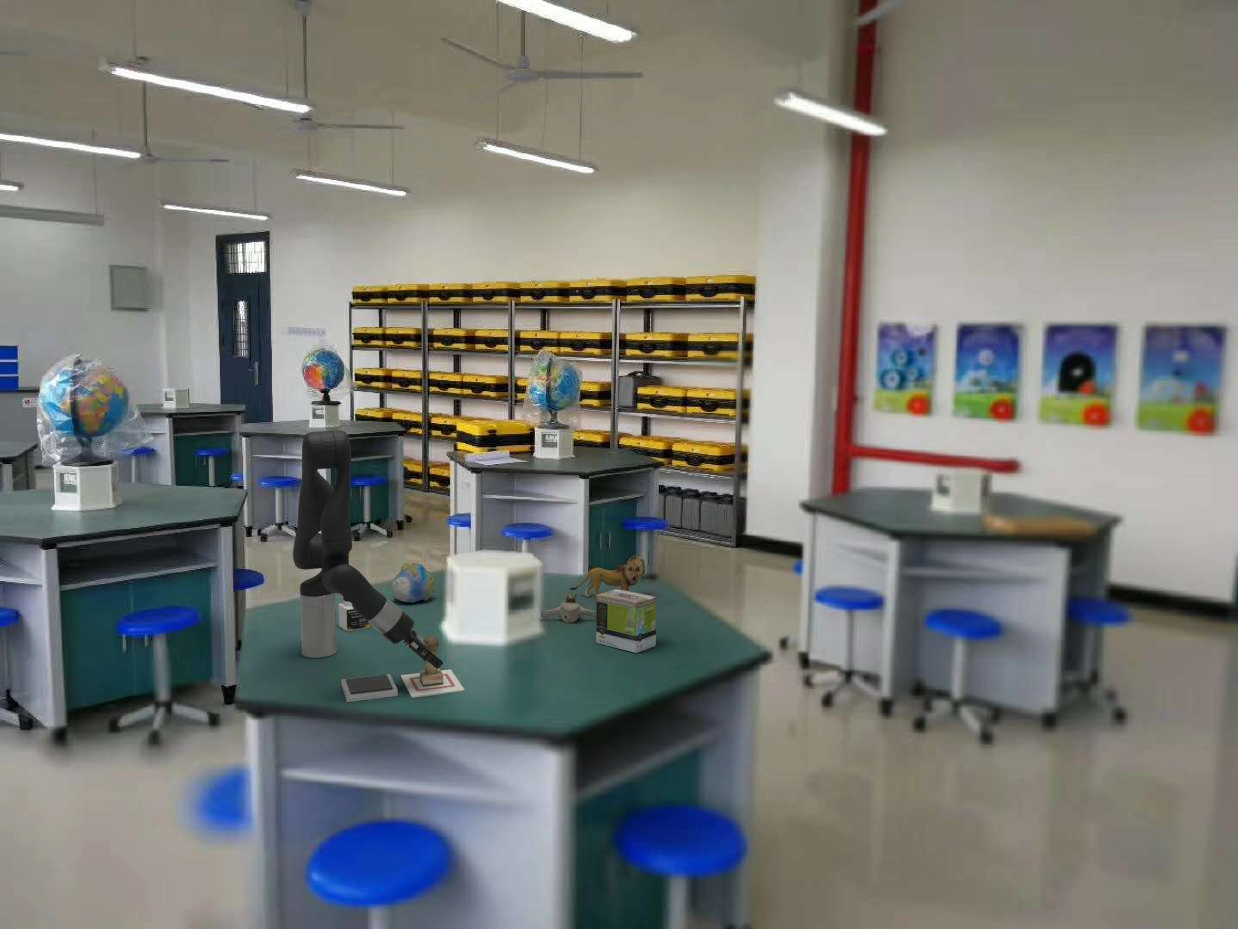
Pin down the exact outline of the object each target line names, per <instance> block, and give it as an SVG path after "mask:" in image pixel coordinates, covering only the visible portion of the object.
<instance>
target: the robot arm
mask: <svg viewBox="0 0 1238 929" xmlns="http://www.w3.org/2000/svg"><path fill="white" fill-rule="evenodd" d="M351 452H352V449H351V440H350V438H349V435H348V433H347V432H346V431H345V430H340V429H339V430H336V429H335V430H322V431H319V430H318V431H317V430H316V431H311V432H307V433H306V434H305V435H304V437H303V439H302V445H301V482H300V490H299V497H298V505H297V506H298V508H297V527H296V532H295V536H294V541H293V546H292V547H293V549H292V560H293V563H294V565H295V567H296V568H297V569H299V570H316V569H321V570H320V572H319V573H317V574H315V575H314V576H312V577H310V578H308V579H306V580H304V581H302V582H301V583H300V585H299V598H300V599H299V604H300V632H301V634H300V635H301V654H302V656H303V657H305V658H309V659H310V658H311V659H319V658H321V659H322V658H327V657H330V656H333V655H335V654H336V653H337V649H338V648H337V617H336V609H337V608H336V594H339V595H341V596H342V597H343V596H344V597H345V598H346V599H347V600H348V601H349V602H350V603H352V607H353V608H354V610H355V611H356V612H357V613H359V614H360V615H361V616H362V617H363V618H365V619H366V620H367V621H368V622H369V623H370V626H371V627H373V628H374V629H375V630H376V632H378V633H380V634H381V635H382V636H383V637H384V638H385V639H386V640H388V641H389V642H390V643H392V644H394V645H395V644H399V643H401V642H402V641H403V643H404V644H405V647H407V648H408V649H409V650H411V651H412V652H413V653H414V654H415V655H416V656H419V658H421V659H422V660H423V661H424V662H425V661H428V662H429V663H431V664H432V665H433V666H434V667H435V668H437V669H438V668H439V669H441V666H442V665H443V664H444V662H443V660H442V659H440V658H439V656H438V657H437V656H436V655H435V654H433V652H432V651H431V650H429V649H428V645H427V644H426V643H425V642H424V640H425V639H424V637H423V636H422V635H421V634H420V633H419V632H417V631H416V630H415V629H413V627H414V625H415V620H414V619H413V618H412V617H410V615H408V614H407V613H406V612H405V611H404V610H402V609H401V608H400V607H399V606H398V605H397V604H395V603H394V602H393V601H391V600H389V599H388V598H386V597H385V595H383V594H382V593H381V592H380V591H379V590H377V589H375V587H373V586H372V585H371V583H370V582H369V581H368V579H367V578H366V577H365V576H364V575H363V574H362V572H360V571H359V570H358V569H357V568H355V567H354V566H352V565H351V564H350V552H351V551H352V550H353V549H352V548H353V536H352V526H351V525H352V524H351V511H350V510H351V489H352V488H351V484H352V483H351V482H352V481H351V480H352V479H351V478H352V475H351V474H352V470H351V469H352V453H351ZM328 469H330V470H331V469H336V470H337V474H336V475H337V478H336V482H335V486H334V487H333V485H332V484H331V483H330V482H329V481H328V480H327V478H324V476H322V474H320V472H319V470H328ZM318 533H320V534H318ZM425 650H426V651H427V652H428V653H427V654H426V655H425Z"/></svg>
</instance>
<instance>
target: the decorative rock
mask: <svg viewBox="0 0 1238 929" xmlns="http://www.w3.org/2000/svg"><path fill="white" fill-rule="evenodd" d="M393 579H394V581H393V582H392V586H391V587H392V593H393V595H394V598H395V599H396V600H398V601H400V602H403V603H408V604H414V602H415V603H417V602H419V601H421V600H422V601H427V600H430V598H431V595H433V594H435V593H436V588H435V587H434V584H435V583H436V580H435V578H434V576H433V574H432V573H431V572H430V571H429V570H428V569H426V567H425V566H424V565H423V564H421V563H415V562H414V563H411V564H410V563H407V562H406V563H403V565H402V566H401V568H400V570H399V572H398V573H397V574H396V576H394V578H393Z"/></svg>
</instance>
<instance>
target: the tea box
mask: <svg viewBox="0 0 1238 929" xmlns="http://www.w3.org/2000/svg"><path fill="white" fill-rule="evenodd" d="M595 598H596V597H595ZM595 602H596V603H595V604H596V610H595V611H596V619H595V620H596V621H595V622H596V623H595V624H596V625H595V626H596V627H595V628H596V629H595V632H596V633H595V635H596V638H595V639H596V642H595V643H597V644H600V645H604V646H606V647H607V646H608V647H611V648H615V649H619V650H623V651H625V652H626V651H627V652H631V653H634V654H638V653H640V652H643V651H646V650H648V649H651V648H654V647H656V645H657V644H656V643H657V596H655V595H649V594H645V593H639V592H634V591H625V590H621V589H619V588H616V589H612V590H609V591H605V592H602V593H598V595H597V598H596V601H595Z"/></svg>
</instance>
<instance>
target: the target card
mask: <svg viewBox="0 0 1238 929" xmlns="http://www.w3.org/2000/svg"><path fill="white" fill-rule="evenodd" d="M441 672H442V673H443V685H435V686H427V687H423V685H422V684H421V682H420V672H417V673H409V674H401V675H400V677H401V679H402V681H403V683H404V685H405V687H406V690H407V691H408V693H409V695H410V697H411V698H413V699H414V698H420V697H429V696H438V695H445V694H455V693H460V692H461V693H462V692H465V688H464V686H462V684H461V682H460V680H458V678H457V676H456V675H455V673H454V672H453V670H452V669H444V670H441Z"/></svg>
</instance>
